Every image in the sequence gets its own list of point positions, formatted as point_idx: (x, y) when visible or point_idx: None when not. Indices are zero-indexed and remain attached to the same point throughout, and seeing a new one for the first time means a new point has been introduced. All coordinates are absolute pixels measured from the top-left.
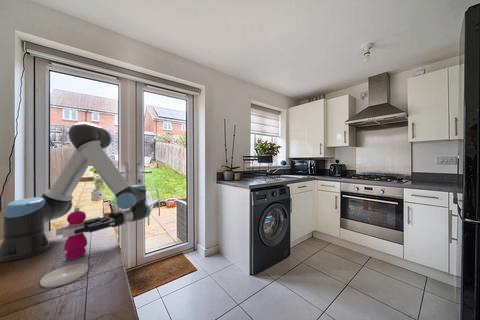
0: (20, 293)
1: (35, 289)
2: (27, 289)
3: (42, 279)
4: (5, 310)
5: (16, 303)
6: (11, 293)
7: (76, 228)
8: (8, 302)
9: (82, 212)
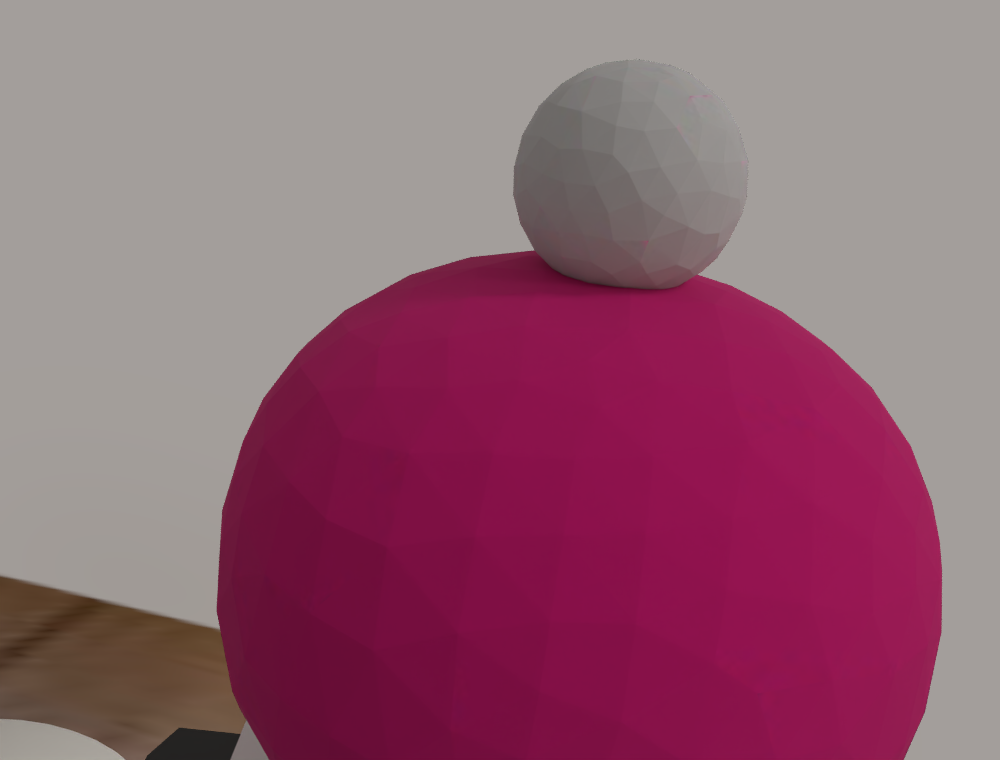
0: (125, 666)
1: (38, 716)
2: (127, 700)
3: (88, 751)
4: (5, 578)
5: (4, 615)
6: (211, 652)
7: (247, 744)
8: (90, 610)
9: (396, 373)
